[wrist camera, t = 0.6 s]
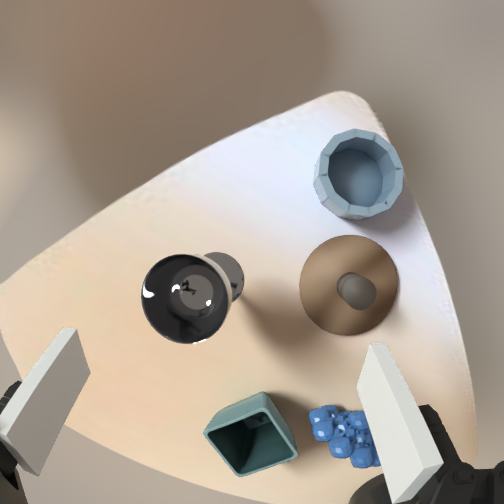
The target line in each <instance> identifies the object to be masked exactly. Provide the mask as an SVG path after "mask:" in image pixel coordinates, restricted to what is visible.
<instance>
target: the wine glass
mask: <svg viewBox="0 0 504 504" xmlns="http://www.w3.org/2000/svg"><path fill="white" fill-rule="evenodd" d="M243 285H244V275H243V271H242V269H241V267H240V265H239V264H238V262H237V261H236V260H235V259H234V258H232V257H231V256H229V255H227V254H225V253H220V252H212V253H208V254H206V255H204V256H202V255H199V254H191V253H185V254H176V255H172V256H168V257H166V258H164V259H162V260H160V261H159V262H157V263H156V264H155V265H154V266H153V267H152V268H151V269H150V270H149V272H148V274H147V275H146V277H145V280H144V282H143V286H142V292H141V300H142V307H143V310H144V313H145V316H146V318H147V320H148V321H149V323H150V324H151V326H152V327H153V328H154V329H155V330H156V331H157V332H158V333H159V334H160V335H162V336H163V337H165V338H167V339H168V340H171V341H173V342H176V343H182V344H193V343H199V342H201V341H204V340H206V339H208V338H209V337H211V336H212V335H213V334H215V333H216V332H217V331H218V330H219V328H220V327H221V326H222V324H223V323H224V322H225V320H226V318H227V316H228V314H229V311H230V308H231V304H232V302H233V301H234V300H235V299H236V298H237V297H238V296H239V295H240V293H241V291H242V289H243Z"/></svg>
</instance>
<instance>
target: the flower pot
mask: <svg viewBox="0 0 504 504" xmlns="http://www.w3.org/2000/svg"><path fill="white" fill-rule="evenodd" d="M260 419H263V421H260ZM203 435H204V436H205V438H206V439H207V440H208V441H209V443H210V444H211V445H212V446H213V447H214V449H215V450H216V451H217V452H218V454H219V455H220V456H221V457H222V459H223V460H224V461H225V462H226V463H227V465H228V466H229V467H230V468H231V470H232V471H233V472H234V474H235V475H237V476H238V477H243V476H247V475H250V474H253V473H256V472H258V471H261V470H264V469H267V468H270V467H272V466H275V465H278V464H281V463H284V462H286V461H289V460H292V459H294V458H296V457H298V451H297V448H296V444H295V440H294V437H293V434H292V431H291V429H290V428H289V426H288V425H287V423H286V422H285V420H284V419H283V417H282V416H281V414H280V413H279V411H278V410H277V408H276V407H275V405H274V403H273V402H272V400H271V399H270V397H269V396H268V394H267V393H266V392H260V393H258V394H256V395H253V396H251V397H249V398H247V399H244V400H242V401H240V402H237V403H235V404H232V405H230V406H228V407H225V408H223V409H222V410H220V411H219V412H218V413H216V414H215V416H214V417H213V418H212V420H211V421H210V423H209V424H208V426H207V427H206V429H205V430H204V431H203Z"/></svg>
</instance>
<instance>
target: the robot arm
mask: <svg viewBox="0 0 504 504" xmlns="http://www.w3.org/2000/svg"><path fill="white" fill-rule="evenodd" d="M89 375H90V370H89V367H88V364H87V361H86V358H85V355H84V352H83V349H82V345H81V342H80V339H79V335H78V332H77V329H73V328H66V327H63V328H62V330H61V331H60V332H59V333H58V335H57V336H56V337H55V339H54V340H53V341H52V343H51V344H50V345H49V346H48V348H47V349H46V350H45V352H44V353H43V354H42V356H41V357H40V358H39V360H38V361H37V363H36V364H35V365H34V367H33V368H32V369H31V371H30V372H29V374H28V375H27V376H26V378H25V379H24V381H23V382H20V381H17V382H15V383H14V384H13V385H11V386H10V387H9V388H8V390H7V391H6V392H5V394H4V397H2V398H1V400H0V504H28V503H27V500H26V497H25V493H24V490H23V487H22V484H21V481H20V477H19V473H18V471H17V469H16V468H15V467H16V465H17V463H18V464H19V465H20V466H21V467H22V468H23V469H24V470H25V471H27V472H29V473H32V474H34V475H36V476H39V475H40V473H41V470H42V468H43V466H44V464H45V461H46V459H47V457H48V455H49V453H50V451H51V449H52V447H53V445H54V443H55V441H56V438H57V436H58V434H59V432H60V430H61V428H62V426H63V424H64V422H65V420H66V418H67V416H68V414H69V413H70V411H71V409H72V407H73V405H74V403H75V401H76V399H77V397H78V395H79V393H80V392H81V390H82V388H83V386H84V384H85V382H86V380H87V379H88V377H89ZM356 388H357V391H358V394H359V397H360V400H361V403H362V406H363V409H364V412H365V415H366V418H367V421H368V425H369V428H370V431H371V434H372V437H373V440H374V443H375V447H376V450H377V453H378V456H379V460H380V463H381V466H382V470H383V473H384V474H381V475H379V476H377V477H375V478H373V479H371V480H369V481H368V482H366V483H365V484H364V485H362V486H361V487H360V488H359V489H358V490H357V491H356V492H355V493H354V494H353V496H352V497H351V499H350V502H349V504H504V461H502V462H500V463H498V464H497V465H496V466H495V468H493V469H480V470H479V469H474V468H473V467H472V466H471V465H470V464H468V463H464V462H462V461H461V460H460V458H459V456H458V454H457V452H456V450H455V448H454V446H453V444H452V442H451V439H450V437H449V435H448V433H447V432H446V429H445V427H444V425H443V424H442V421H441V419H440V417H439V415H438V413H437V412H436V411H435V410H434V409H433V408H432V407H431V406H429V405H422V406H418V405H417V403H416V401H415V399H414V397H413V395H412V393H411V391H410V389H409V387H408V385H407V383H406V381H405V379H404V377H403V375H402V373H401V371H400V369H399V367H398V366H397V364H396V362H395V360H394V358H393V356H392V354H391V352H390V350H389V348H388V346H387V345H386V343H370V345H369V348H368V352H367V355H366V358H365V362H364V365H363V368H362V371H361V374H360V377H359V381H358V384H357V386H356Z"/></svg>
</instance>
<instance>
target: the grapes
mask: <svg viewBox="0 0 504 504" xmlns="http://www.w3.org/2000/svg"><path fill="white" fill-rule="evenodd" d="M309 420H310V423H311V425H312V432H313V435H314V437H315V439H316V441H321V442H328V441H329V449H330V452H331V455H332V456H333V457H335V458H347V457H350V460H351V463H352V465H353V467H356V468H368V467H370V466H373V467H376V466H381V463H380V460H379V456H378V453H377V450H376V447H375V443H374V440H373V437H372V434H371V431H370V428H369V425H368V421H367V418H366V415H365V412H364V411H354V412H352V411H342V412H339V413H338V411H337V408H336V406H335V405H325V406H322V407H320V408H317V409H313V410H311V411H310V413H309Z"/></svg>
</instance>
